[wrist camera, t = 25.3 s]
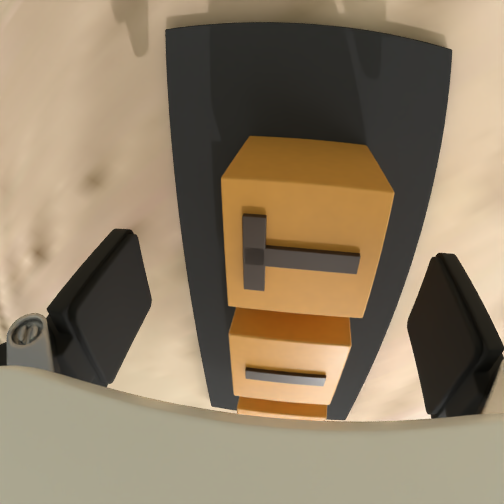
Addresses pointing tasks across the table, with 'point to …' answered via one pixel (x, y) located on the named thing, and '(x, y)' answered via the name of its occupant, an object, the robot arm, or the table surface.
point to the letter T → (303, 225)
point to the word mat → (302, 127)
